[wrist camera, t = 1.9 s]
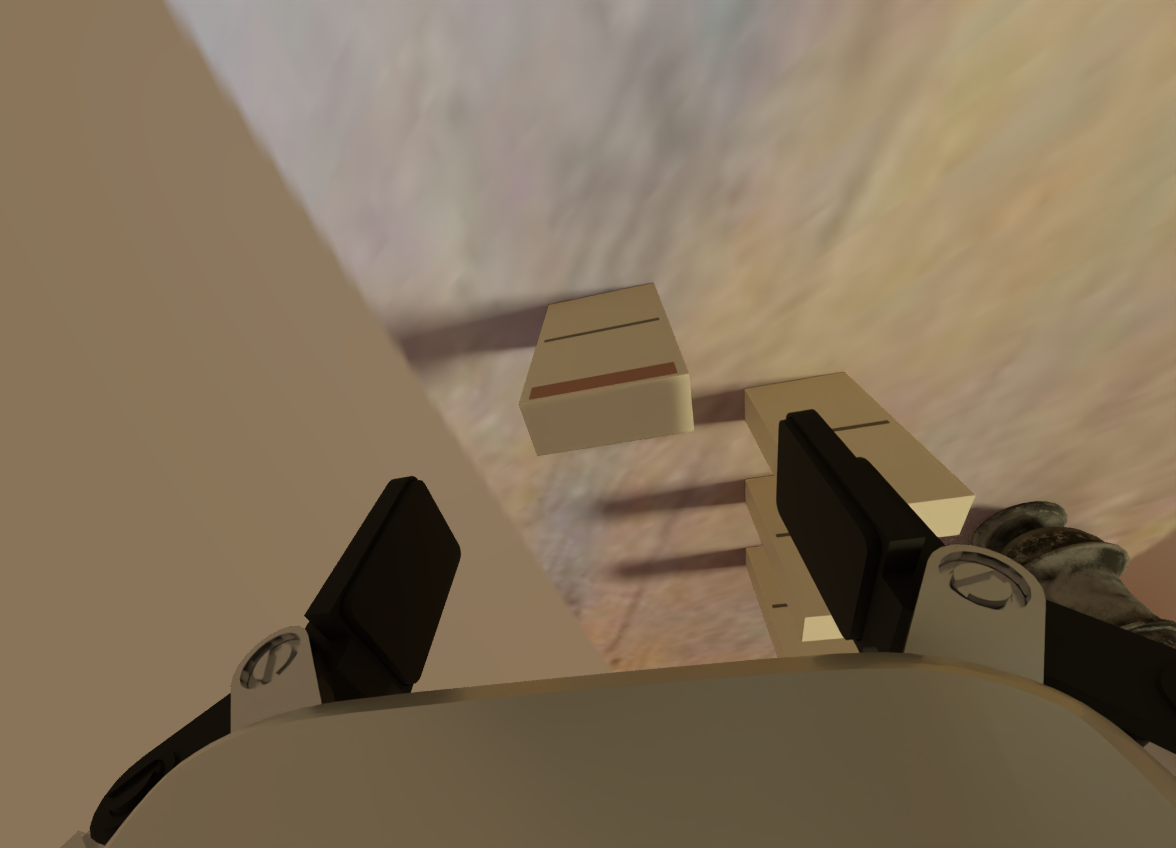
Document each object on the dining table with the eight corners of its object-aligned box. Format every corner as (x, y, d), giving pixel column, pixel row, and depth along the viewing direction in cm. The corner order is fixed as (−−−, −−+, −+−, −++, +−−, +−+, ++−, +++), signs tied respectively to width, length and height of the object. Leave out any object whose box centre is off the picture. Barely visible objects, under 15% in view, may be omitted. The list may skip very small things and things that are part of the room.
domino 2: (745, 479, 26) (805, 617, 18) (831, 466, 25) (929, 605, 18) (745, 502, 27) (801, 641, 19) (827, 491, 26) (919, 631, 19)
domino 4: (744, 388, 22) (818, 514, 15) (844, 371, 21) (975, 494, 14) (744, 420, 23) (813, 551, 16) (839, 404, 23) (958, 535, 15)
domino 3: (745, 547, 29) (795, 686, 22) (821, 538, 28) (899, 679, 21) (745, 565, 30) (793, 704, 23) (818, 557, 30) (891, 697, 22)
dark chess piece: (954, 561, 30) (1133, 774, 20) (987, 501, 26) (1223, 721, 16) (1044, 555, 29) (1275, 771, 19) (1090, 494, 26) (1398, 717, 16)
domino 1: (548, 304, 20) (518, 403, 12) (653, 282, 19) (689, 372, 12) (559, 344, 21) (537, 456, 13) (659, 324, 20) (694, 431, 13)
